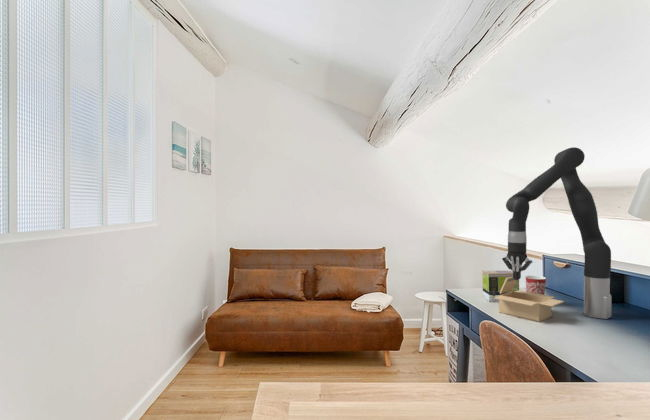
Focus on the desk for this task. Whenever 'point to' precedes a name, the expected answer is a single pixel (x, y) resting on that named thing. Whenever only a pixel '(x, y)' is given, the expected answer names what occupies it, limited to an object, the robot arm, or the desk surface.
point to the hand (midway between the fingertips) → (516, 279)
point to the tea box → (496, 283)
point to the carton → (527, 305)
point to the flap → (508, 285)
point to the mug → (535, 284)
